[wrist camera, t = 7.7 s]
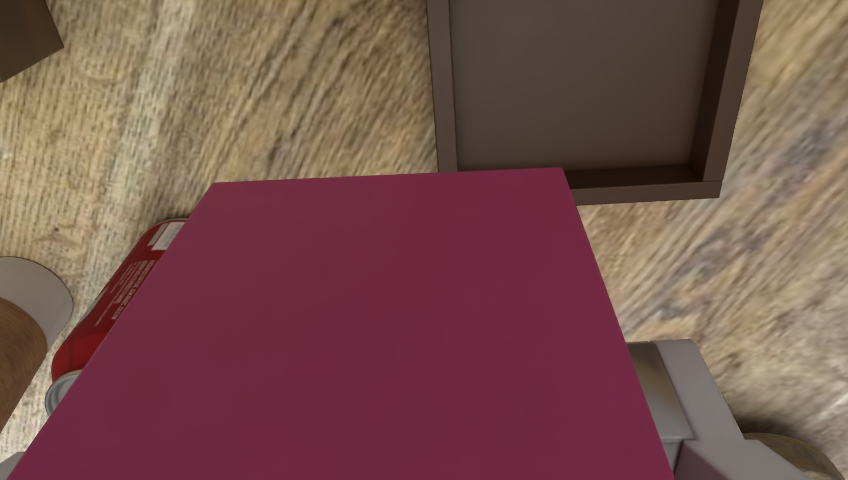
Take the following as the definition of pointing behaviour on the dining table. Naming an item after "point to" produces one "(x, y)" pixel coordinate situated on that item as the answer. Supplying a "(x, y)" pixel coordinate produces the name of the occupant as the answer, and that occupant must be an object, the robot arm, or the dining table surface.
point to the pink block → (364, 343)
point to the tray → (592, 91)
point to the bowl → (799, 455)
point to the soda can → (108, 309)
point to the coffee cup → (27, 325)
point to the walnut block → (25, 35)
